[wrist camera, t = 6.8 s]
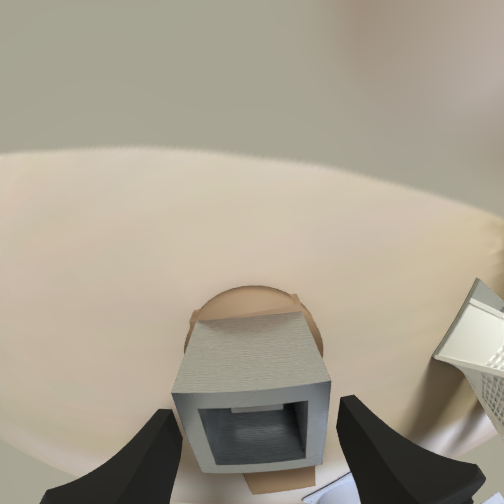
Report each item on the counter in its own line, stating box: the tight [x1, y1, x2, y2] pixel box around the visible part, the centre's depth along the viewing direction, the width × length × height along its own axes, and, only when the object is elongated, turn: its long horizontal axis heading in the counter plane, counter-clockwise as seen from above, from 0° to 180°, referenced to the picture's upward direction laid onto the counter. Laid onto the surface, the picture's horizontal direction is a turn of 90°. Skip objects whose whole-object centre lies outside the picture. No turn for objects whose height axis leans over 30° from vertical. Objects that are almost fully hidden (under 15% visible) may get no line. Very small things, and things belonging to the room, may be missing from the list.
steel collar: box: [171, 311, 331, 473], centre depth 12 cm, size 6×6×6 cm
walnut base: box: [184, 286, 323, 494], centre depth 16 cm, size 21×8×4 cm, turn 10°
